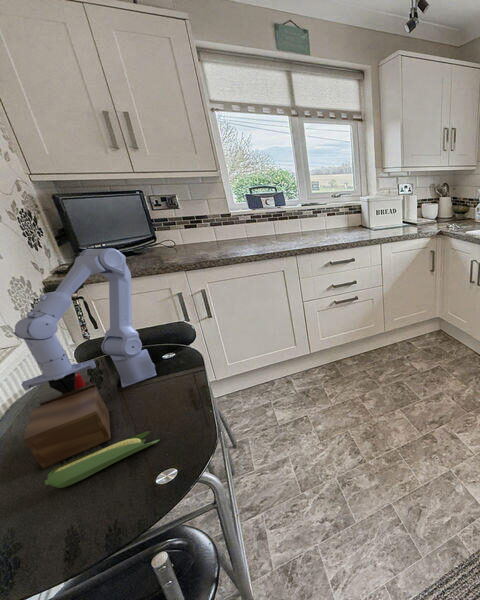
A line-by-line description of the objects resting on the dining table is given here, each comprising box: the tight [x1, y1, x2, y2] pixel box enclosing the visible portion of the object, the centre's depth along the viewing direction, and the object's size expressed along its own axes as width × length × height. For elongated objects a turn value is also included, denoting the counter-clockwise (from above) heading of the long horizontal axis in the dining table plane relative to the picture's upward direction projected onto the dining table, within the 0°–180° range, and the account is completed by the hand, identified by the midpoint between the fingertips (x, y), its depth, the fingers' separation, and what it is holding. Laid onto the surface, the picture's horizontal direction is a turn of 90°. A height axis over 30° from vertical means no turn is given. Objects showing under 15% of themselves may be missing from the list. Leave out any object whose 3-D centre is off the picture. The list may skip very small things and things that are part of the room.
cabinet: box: [23, 386, 112, 469], centre depth 84 cm, size 15×13×9 cm
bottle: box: [75, 372, 87, 389], centre depth 108 cm, size 4×4×6 cm
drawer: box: [38, 382, 106, 407], centre depth 90 cm, size 18×11×7 cm, turn 42°
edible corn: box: [44, 430, 161, 489], centre depth 76 cm, size 5×20×5 cm, turn 130°
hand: (73, 398), depth 94 cm, fingers closed, pressing on drawer
